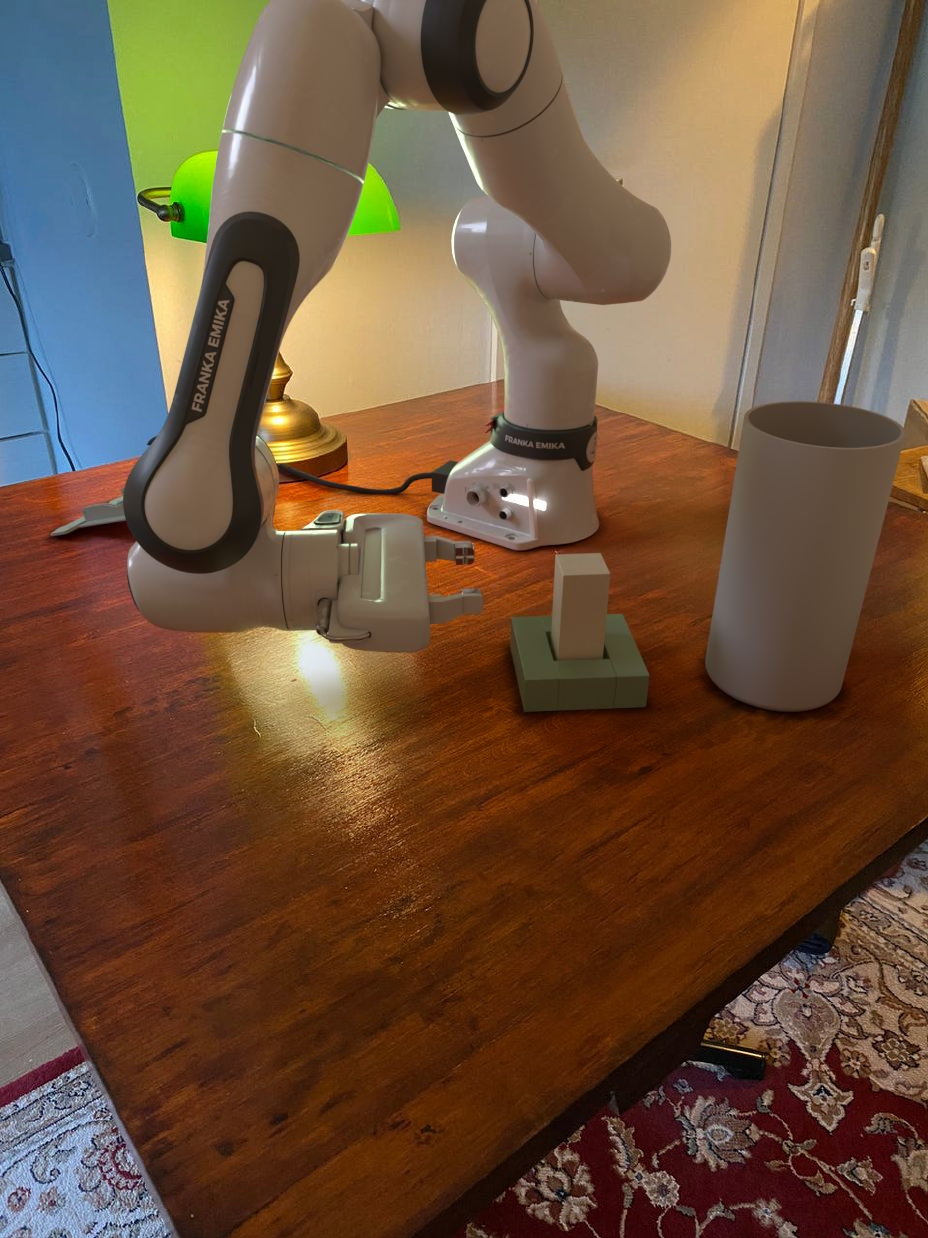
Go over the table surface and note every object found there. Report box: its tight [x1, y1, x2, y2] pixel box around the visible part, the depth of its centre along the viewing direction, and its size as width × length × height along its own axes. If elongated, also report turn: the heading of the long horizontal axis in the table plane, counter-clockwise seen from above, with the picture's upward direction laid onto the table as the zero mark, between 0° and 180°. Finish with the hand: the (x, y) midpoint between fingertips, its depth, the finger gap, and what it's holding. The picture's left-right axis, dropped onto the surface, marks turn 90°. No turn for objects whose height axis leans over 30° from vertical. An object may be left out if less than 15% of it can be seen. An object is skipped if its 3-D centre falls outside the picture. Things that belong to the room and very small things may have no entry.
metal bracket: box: [50, 486, 126, 537], centre depth 117 cm, size 14×6×15 cm
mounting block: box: [509, 613, 650, 713], centre depth 86 cm, size 11×11×4 cm
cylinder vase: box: [704, 400, 906, 713], centre depth 81 cm, size 12×12×25 cm
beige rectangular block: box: [550, 552, 611, 661], centre depth 84 cm, size 4×4×12 cm
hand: (478, 575), depth 81 cm, fingers open, 8 cm apart
